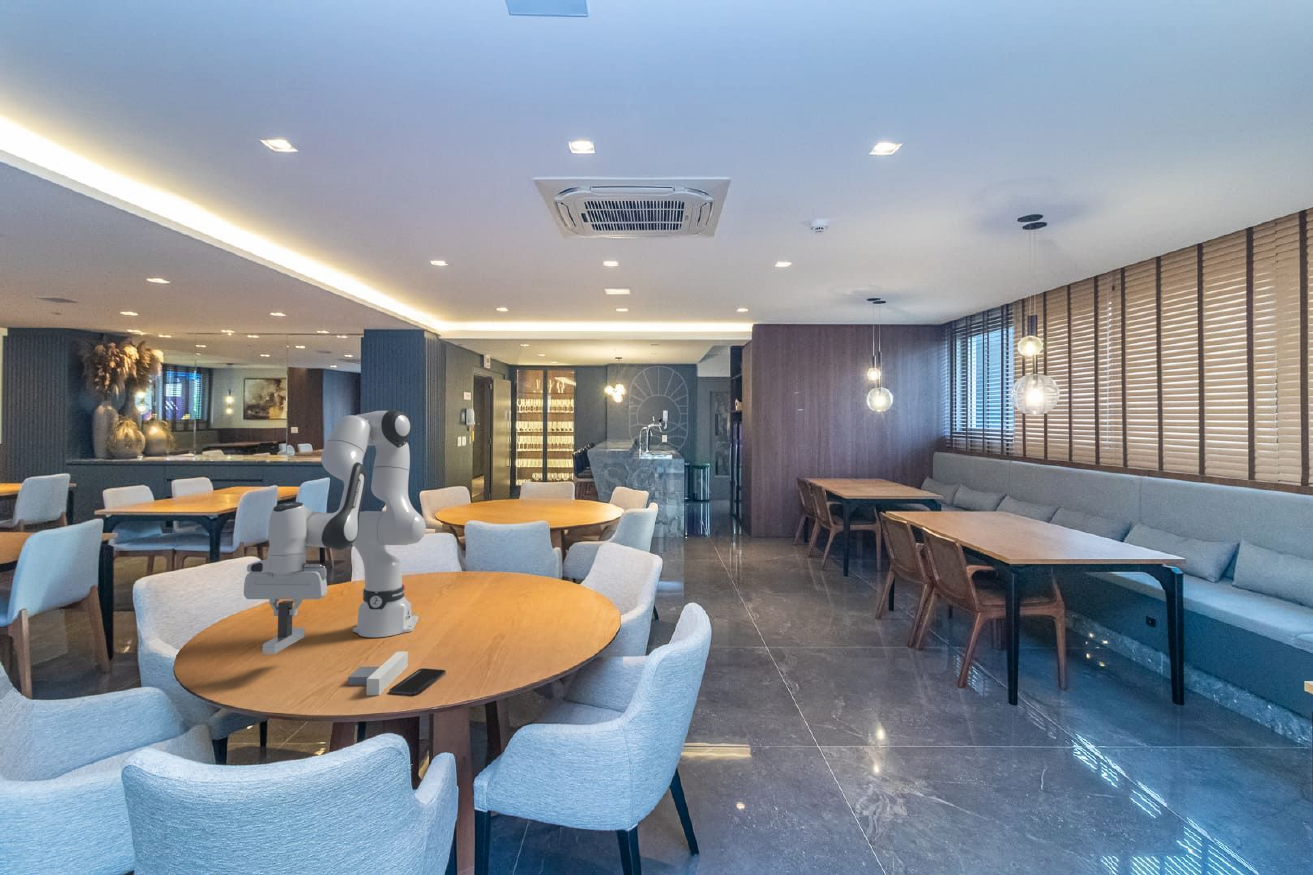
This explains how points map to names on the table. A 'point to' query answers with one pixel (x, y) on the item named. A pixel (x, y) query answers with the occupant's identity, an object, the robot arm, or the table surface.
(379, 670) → the bar
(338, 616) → the table surface
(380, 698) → the table surface
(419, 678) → the phone
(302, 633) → the upside-down t block
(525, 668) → the table surface
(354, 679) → the slate tile
